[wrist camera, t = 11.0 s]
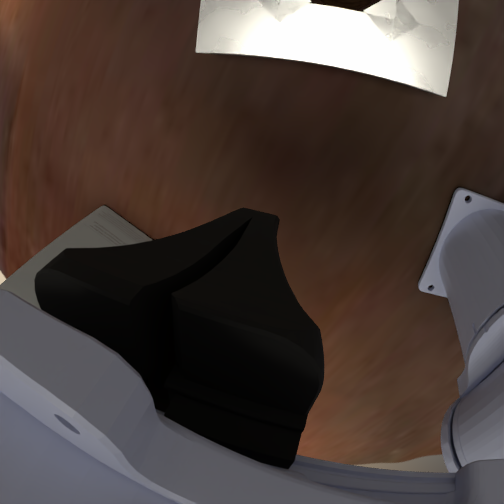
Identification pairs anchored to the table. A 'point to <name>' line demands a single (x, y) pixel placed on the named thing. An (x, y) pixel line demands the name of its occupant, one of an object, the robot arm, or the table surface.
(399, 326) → the table surface
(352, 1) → the bushing
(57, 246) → the supplement box
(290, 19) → the jig
